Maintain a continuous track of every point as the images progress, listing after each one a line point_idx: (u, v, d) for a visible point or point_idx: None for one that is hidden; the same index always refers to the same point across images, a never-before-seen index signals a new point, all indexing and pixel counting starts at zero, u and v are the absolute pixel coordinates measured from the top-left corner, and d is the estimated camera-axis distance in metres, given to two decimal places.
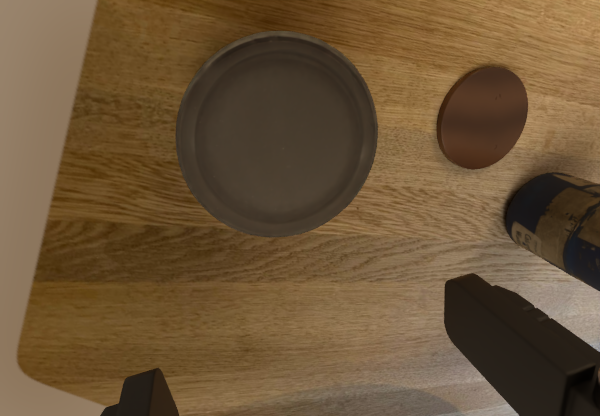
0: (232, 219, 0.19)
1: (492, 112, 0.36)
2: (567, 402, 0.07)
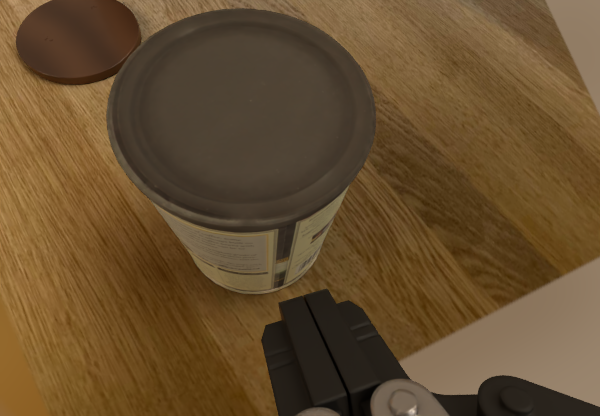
0: (361, 91, 0.15)
1: (66, 33, 0.31)
2: None
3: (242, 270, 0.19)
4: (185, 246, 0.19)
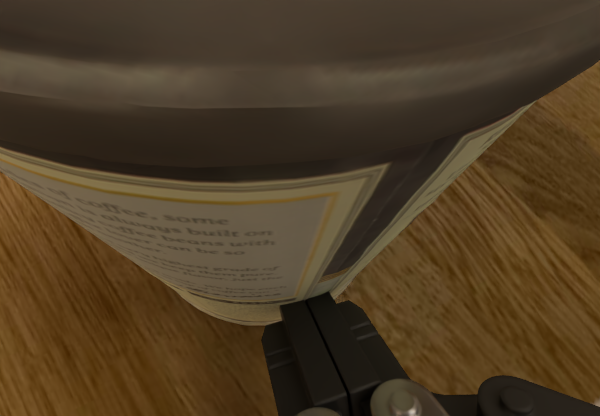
0: None
1: None
2: None
3: (241, 298, 0.08)
4: None
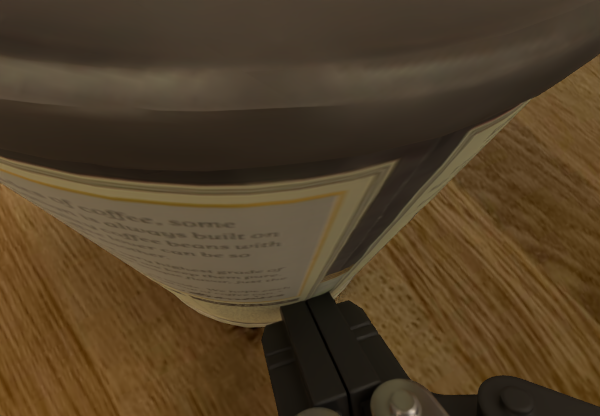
0: None
1: None
2: None
3: (244, 300, 0.08)
4: None
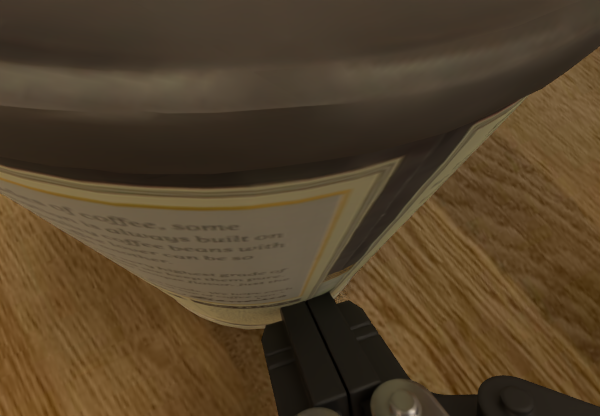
0: None
1: None
2: None
3: (246, 302, 0.08)
4: None
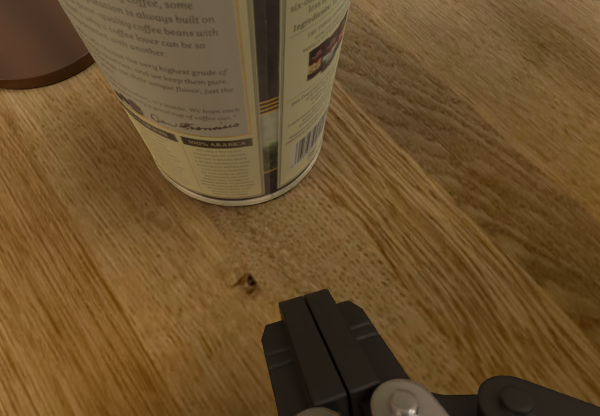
0: None
1: (9, 18, 0.23)
2: None
3: (215, 133, 0.13)
4: (134, 113, 0.14)
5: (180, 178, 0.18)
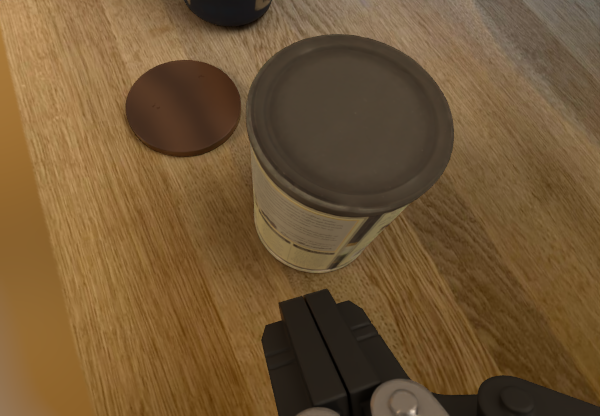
0: (444, 114, 0.18)
1: (172, 102, 0.32)
2: None
3: (315, 248, 0.22)
4: (268, 223, 0.23)
5: (276, 250, 0.27)
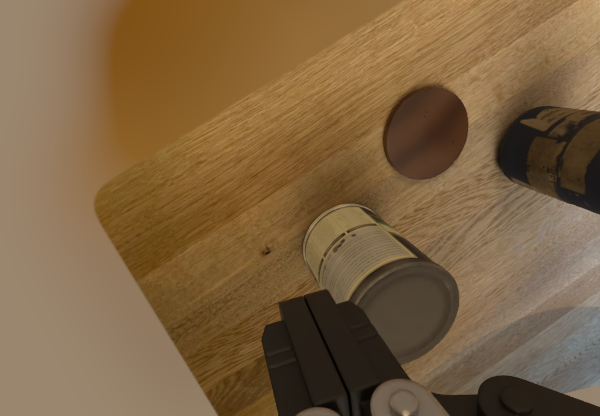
0: (405, 360, 0.32)
1: (429, 126, 0.39)
2: None
3: (321, 275, 0.35)
4: (335, 243, 0.35)
5: (316, 231, 0.39)
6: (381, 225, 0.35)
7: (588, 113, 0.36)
